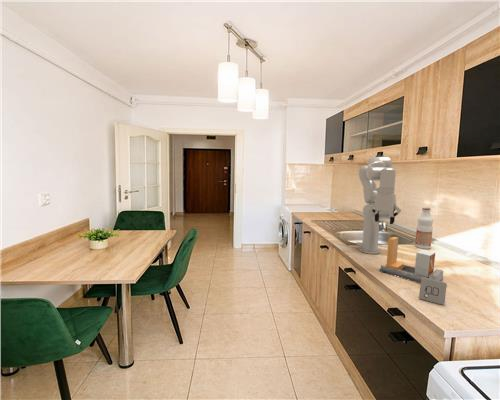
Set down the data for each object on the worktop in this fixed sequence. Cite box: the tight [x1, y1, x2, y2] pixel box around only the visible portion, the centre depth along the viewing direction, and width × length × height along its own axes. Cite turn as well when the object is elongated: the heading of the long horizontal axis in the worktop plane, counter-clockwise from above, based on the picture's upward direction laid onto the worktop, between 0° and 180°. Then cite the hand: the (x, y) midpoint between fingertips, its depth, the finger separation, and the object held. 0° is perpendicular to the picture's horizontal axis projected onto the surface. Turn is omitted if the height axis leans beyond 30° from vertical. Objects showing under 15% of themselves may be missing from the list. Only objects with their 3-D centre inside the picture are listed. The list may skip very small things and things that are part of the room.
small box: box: [414, 249, 436, 278], centre depth 143 cm, size 8×6×13 cm
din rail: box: [379, 264, 444, 284], centre depth 148 cm, size 26×14×5 cm, turn 42°
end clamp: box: [385, 236, 405, 270], centre depth 153 cm, size 6×9×17 cm, turn 132°
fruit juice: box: [414, 207, 434, 250], centre depth 197 cm, size 9×9×28 cm
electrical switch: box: [418, 278, 448, 306], centre depth 122 cm, size 9×5×9 cm, turn 52°
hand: (384, 222), depth 157 cm, fingers open, 7 cm apart
